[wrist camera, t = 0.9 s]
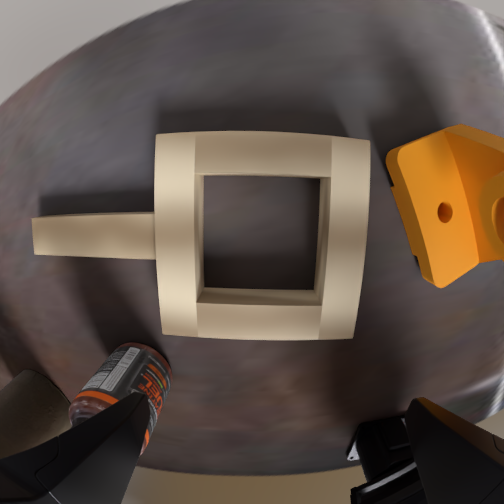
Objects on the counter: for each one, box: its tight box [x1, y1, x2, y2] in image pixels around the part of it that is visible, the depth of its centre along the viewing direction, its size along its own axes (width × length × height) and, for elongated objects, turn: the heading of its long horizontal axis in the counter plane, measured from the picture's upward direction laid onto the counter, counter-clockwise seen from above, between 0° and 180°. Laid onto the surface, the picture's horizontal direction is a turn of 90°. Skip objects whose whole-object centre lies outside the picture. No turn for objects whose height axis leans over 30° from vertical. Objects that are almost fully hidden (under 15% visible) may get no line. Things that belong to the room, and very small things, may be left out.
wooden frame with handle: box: [32, 131, 370, 340], centre depth 18 cm, size 13×25×3 cm, turn 89°
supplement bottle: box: [69, 342, 172, 455], centre depth 17 cm, size 6×6×11 cm
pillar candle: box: [0, 369, 72, 459], centre depth 17 cm, size 10×10×15 cm
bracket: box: [386, 124, 504, 288], centre depth 13 cm, size 11×7×12 cm, turn 25°
